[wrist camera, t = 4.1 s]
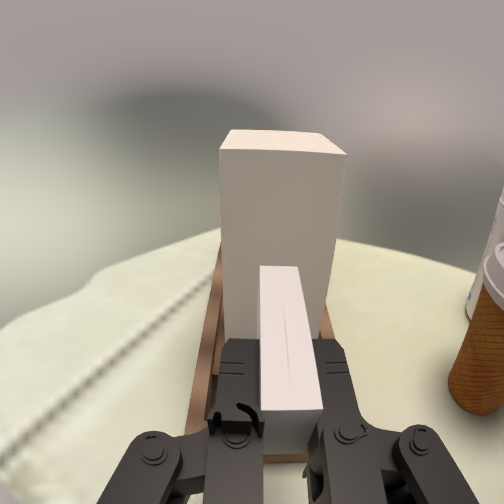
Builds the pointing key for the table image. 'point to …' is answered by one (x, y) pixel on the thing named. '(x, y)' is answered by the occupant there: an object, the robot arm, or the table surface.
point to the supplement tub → (499, 233)
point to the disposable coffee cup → (483, 345)
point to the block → (277, 218)
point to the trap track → (210, 362)
